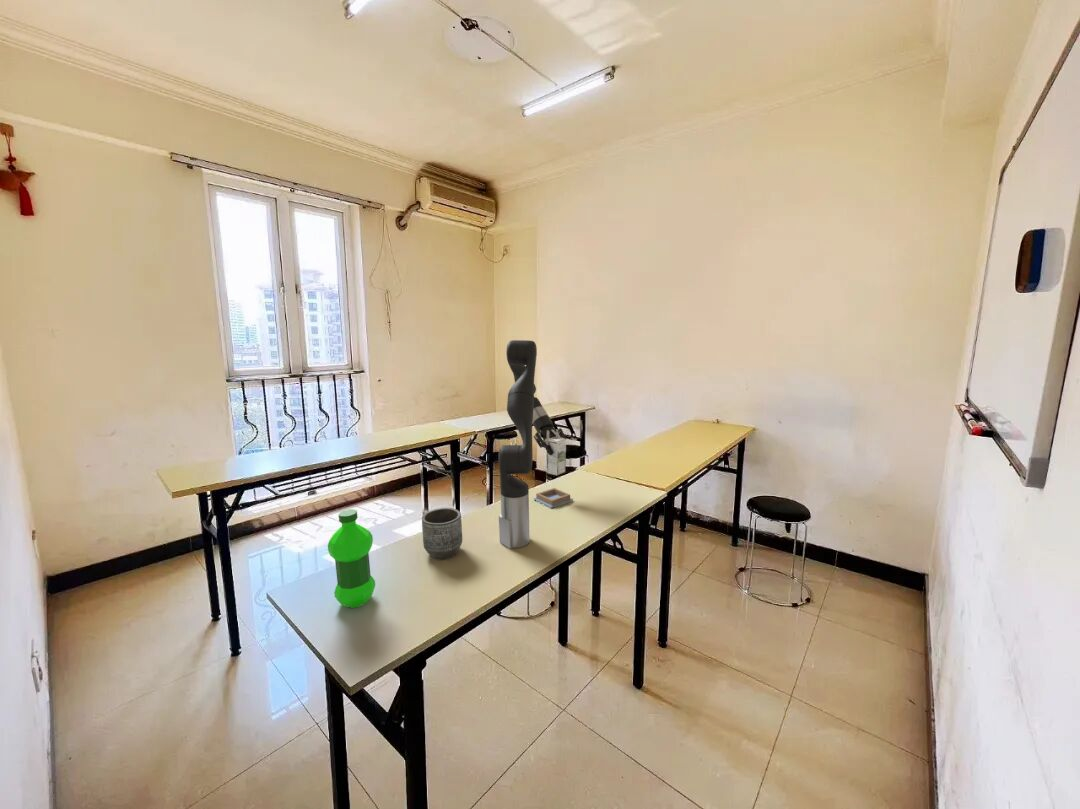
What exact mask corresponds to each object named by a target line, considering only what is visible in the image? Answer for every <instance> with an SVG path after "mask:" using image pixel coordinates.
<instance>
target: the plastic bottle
mask: <svg viewBox="0 0 1080 809" xmlns="http://www.w3.org/2000/svg"><path fill="white" fill-rule="evenodd" d="M357 519H358V510H357V509H352V508H351V509H344V510H342V511H340V512H339V513H338V522H340V523H341V526H340V527H339V528H338V529H337V530H336V531H335V532H334V533H333V534H332V536H330V539H329V540H328V543H327V551H328V554H329V556H330V557H332V558H333V559H334V562H335V571H336V572H335V573H336V581H337V584H336V586H335V589H334V592H333V593H334V598H335V599H336V600H337V602H338V603H339V604H340V605H341V606H343V607H346V608H348V607H352V608H351V609H356V608H359V607H358V606H360V607H362V606H363V605H365V604H366V603H367V601H369V600H370V599H371V598H372V596H373V593H374V591H375V588H376V580H375V578H374V577H373V576H372V575H371V565H370V555H369V554H370V553H369V552H370V551H371V549H372V547H373V540H374V538H373V535H372V533H371V530H368V529H367V528H366V527H364V526H362V525H361V524H358V523H356V521H357ZM364 603H365V604H364ZM362 604H363V605H362ZM361 605H362V606H361ZM355 607H356V608H355Z"/></svg>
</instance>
